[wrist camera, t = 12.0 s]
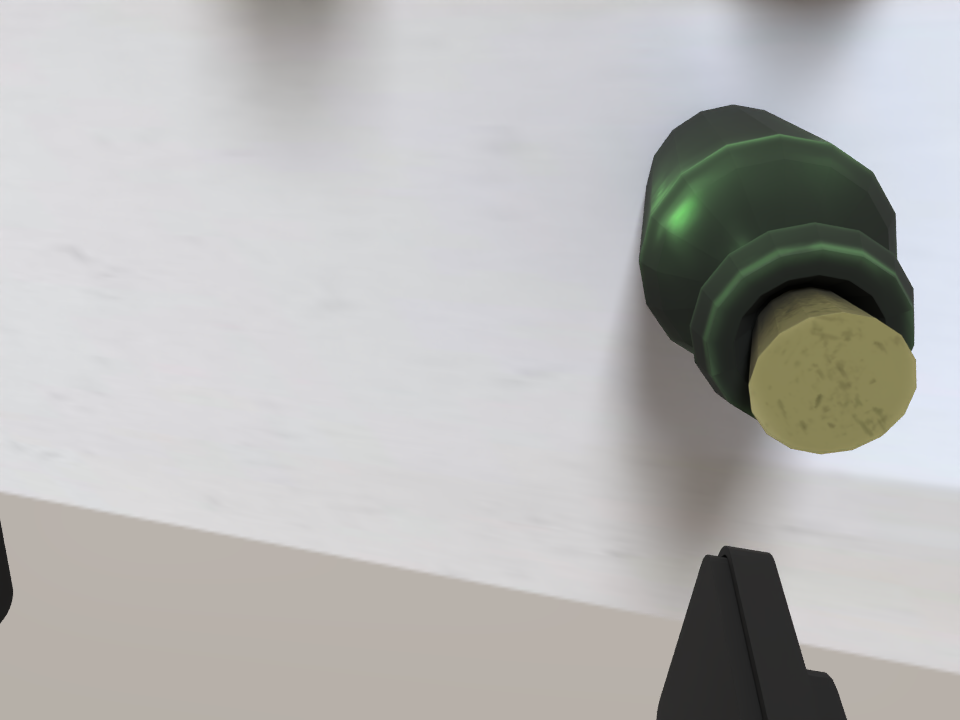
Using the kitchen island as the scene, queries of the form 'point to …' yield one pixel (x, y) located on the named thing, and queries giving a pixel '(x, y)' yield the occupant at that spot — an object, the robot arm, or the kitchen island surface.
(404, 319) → the kitchen island surface
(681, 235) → the potion bottle
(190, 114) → the kitchen island surface
